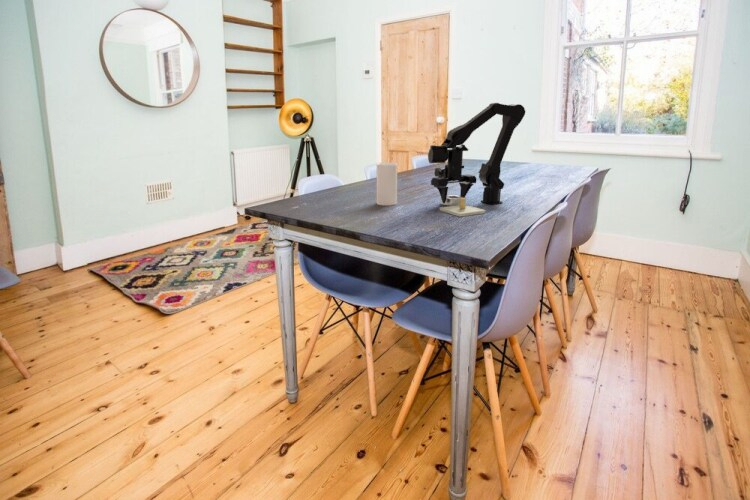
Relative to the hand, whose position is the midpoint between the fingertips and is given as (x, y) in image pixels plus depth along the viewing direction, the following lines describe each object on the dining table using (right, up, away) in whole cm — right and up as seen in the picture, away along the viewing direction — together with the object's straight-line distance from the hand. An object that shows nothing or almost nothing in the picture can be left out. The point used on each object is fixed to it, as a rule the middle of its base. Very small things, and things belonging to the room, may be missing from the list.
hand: (452, 201), depth 184 cm
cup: (-27, 0, +3) cm, 27 cm away
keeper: (+1, -5, -12) cm, 13 cm away
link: (0, -1, 0) cm, 1 cm away
